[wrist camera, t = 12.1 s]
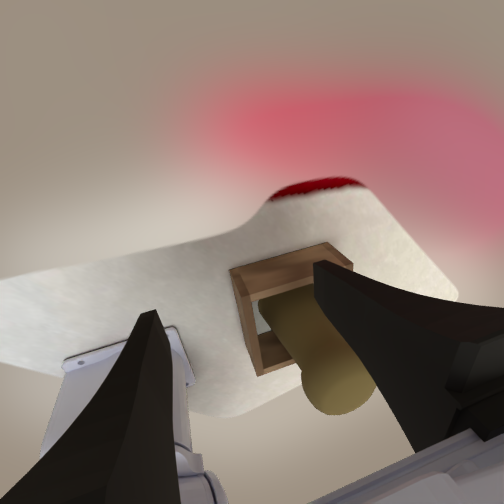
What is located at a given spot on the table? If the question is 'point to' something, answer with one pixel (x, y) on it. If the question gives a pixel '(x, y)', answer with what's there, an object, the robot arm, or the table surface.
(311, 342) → the olive game pawn
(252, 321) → the walnut stand
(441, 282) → the table surface
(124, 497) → the robot arm
